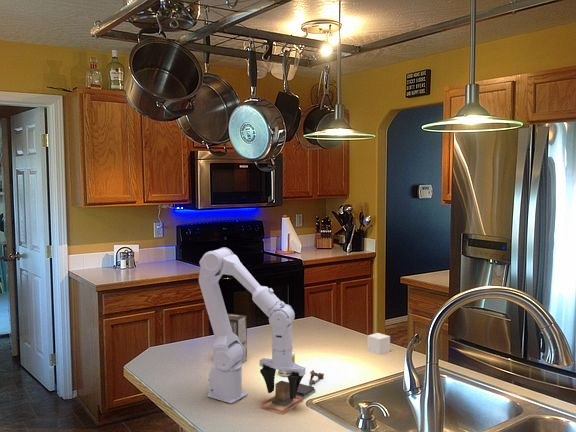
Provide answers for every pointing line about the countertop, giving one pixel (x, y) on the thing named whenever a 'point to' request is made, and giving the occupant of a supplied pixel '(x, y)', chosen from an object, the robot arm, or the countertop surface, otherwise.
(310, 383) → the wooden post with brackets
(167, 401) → the countertop surface
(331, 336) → the countertop surface
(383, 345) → the white cube
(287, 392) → the stamp
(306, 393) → the ink pad
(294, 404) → the red rimmed tray
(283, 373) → the supplement bottle
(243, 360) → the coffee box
